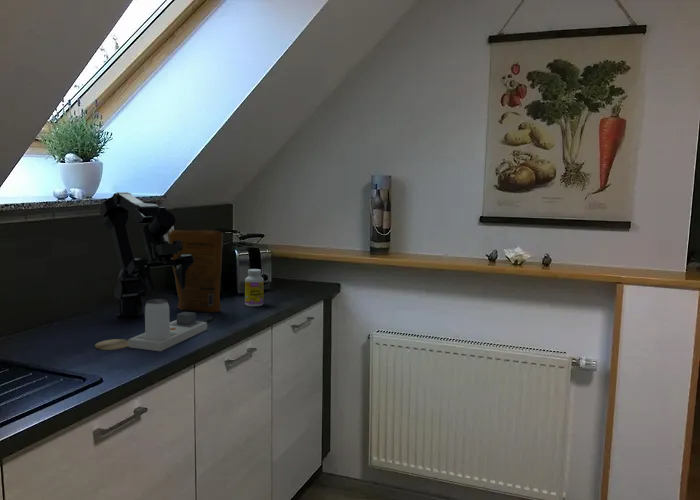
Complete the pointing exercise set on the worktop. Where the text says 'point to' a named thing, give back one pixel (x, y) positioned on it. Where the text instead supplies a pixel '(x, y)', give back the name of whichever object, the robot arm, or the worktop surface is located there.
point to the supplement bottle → (254, 288)
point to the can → (157, 320)
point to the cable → (208, 319)
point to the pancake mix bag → (200, 269)
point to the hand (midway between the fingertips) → (168, 290)
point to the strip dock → (176, 335)
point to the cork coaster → (112, 344)
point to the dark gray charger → (186, 318)
